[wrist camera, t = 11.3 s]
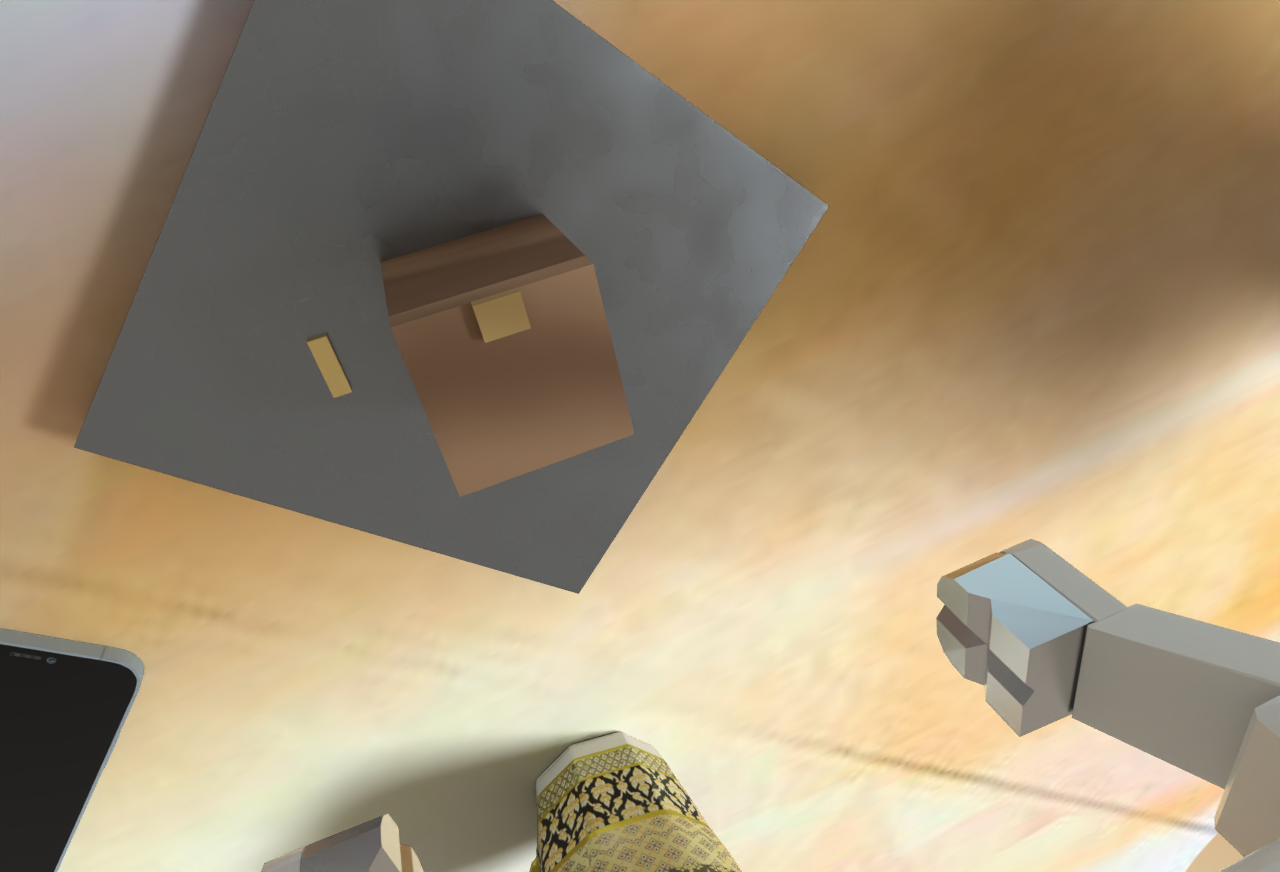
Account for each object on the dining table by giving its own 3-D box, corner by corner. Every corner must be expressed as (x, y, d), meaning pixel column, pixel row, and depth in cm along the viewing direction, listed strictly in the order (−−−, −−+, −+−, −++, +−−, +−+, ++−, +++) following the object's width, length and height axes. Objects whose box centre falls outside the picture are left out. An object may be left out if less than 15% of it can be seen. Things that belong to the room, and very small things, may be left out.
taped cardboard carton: (582, 358, 27) (637, 439, 22) (437, 407, 26) (461, 502, 21) (542, 213, 24) (596, 267, 19) (380, 262, 23) (390, 331, 18)
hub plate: (807, 197, 28) (896, 232, 24) (569, 571, 33) (606, 661, 28) (324, -158, 19) (319, -211, 15) (87, 424, 24) (28, 521, 19)
